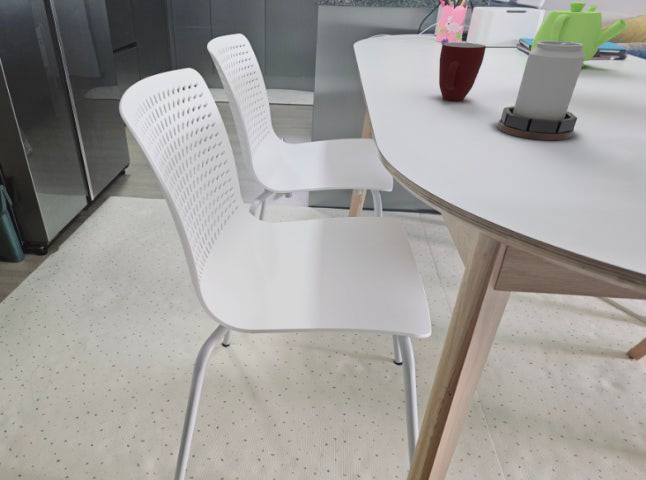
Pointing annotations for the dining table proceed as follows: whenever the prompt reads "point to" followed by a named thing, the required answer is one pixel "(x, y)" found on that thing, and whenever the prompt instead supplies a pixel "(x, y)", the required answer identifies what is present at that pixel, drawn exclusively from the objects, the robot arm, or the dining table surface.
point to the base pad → (536, 126)
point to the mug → (459, 69)
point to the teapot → (578, 28)
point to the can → (549, 80)
